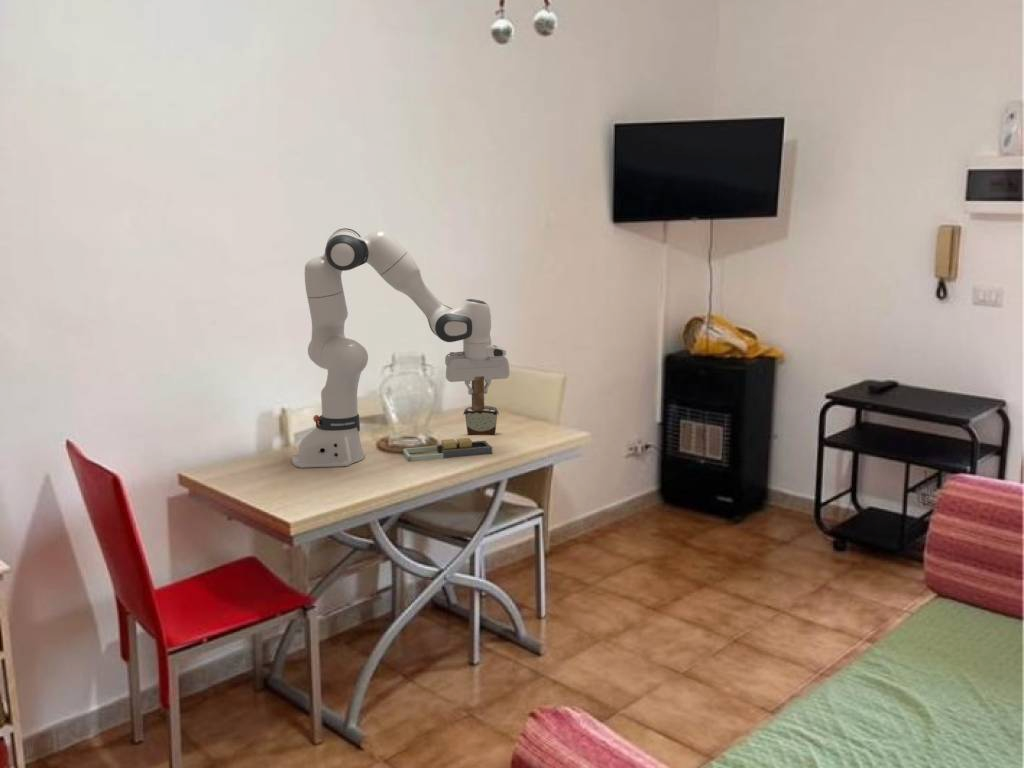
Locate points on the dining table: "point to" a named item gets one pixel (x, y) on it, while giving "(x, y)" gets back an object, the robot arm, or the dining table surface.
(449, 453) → the dark grey tray
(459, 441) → the olive yellow cube
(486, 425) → the food container
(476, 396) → the brown rectangular block
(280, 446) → the dining table surface
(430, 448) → the tray
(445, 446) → the chip
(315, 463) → the robot arm
